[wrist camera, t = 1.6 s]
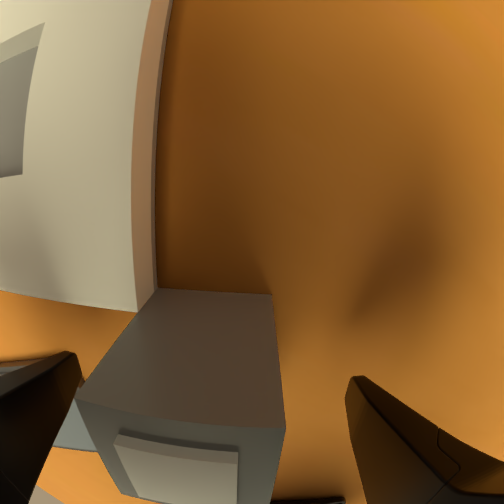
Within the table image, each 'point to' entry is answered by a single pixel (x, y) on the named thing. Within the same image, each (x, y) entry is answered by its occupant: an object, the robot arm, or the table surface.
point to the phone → (73, 425)
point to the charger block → (191, 400)
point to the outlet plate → (80, 148)
